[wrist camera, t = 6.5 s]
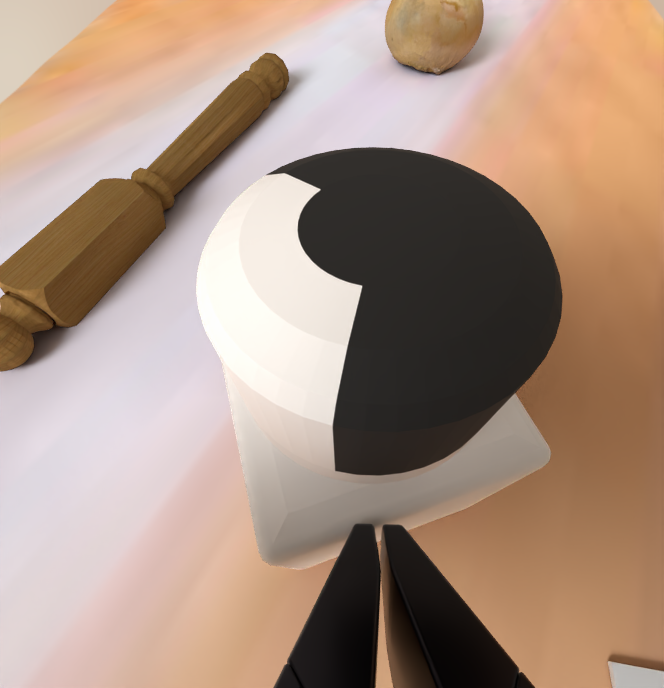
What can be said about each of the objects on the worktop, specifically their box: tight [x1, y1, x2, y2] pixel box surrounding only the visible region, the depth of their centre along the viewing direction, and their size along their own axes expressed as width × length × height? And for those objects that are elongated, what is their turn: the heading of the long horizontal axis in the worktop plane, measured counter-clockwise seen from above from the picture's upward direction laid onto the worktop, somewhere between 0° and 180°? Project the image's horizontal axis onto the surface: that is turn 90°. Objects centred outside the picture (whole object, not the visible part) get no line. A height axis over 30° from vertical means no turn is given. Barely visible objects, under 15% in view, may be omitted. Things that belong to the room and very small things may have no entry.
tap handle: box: [0, 53, 289, 371], centre depth 24 cm, size 3×3×30 cm
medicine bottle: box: [196, 147, 562, 570], centre depth 11 cm, size 7×7×12 cm
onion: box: [385, 0, 484, 75], centre depth 31 cm, size 8×8×7 cm
